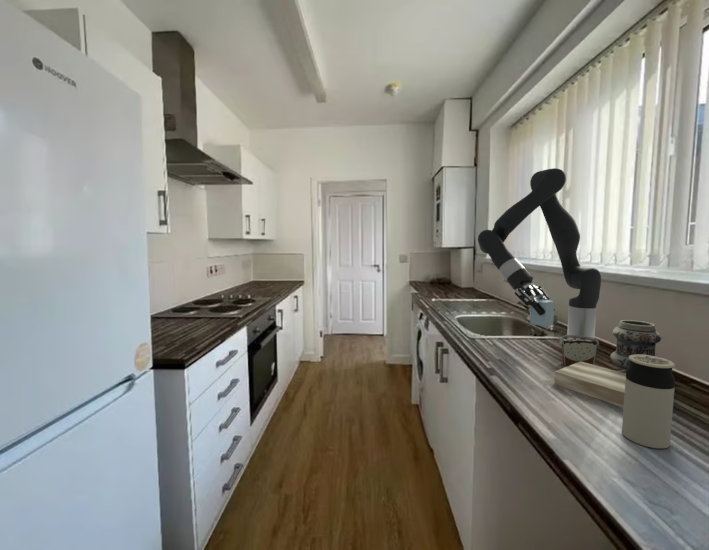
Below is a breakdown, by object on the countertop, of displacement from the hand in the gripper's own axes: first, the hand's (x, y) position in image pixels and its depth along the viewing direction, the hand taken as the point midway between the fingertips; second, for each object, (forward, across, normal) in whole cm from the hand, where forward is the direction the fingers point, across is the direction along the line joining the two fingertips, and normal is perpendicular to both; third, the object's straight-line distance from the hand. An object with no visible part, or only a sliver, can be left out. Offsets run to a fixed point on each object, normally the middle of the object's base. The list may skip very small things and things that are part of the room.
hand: (547, 312), depth 111 cm
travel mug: (+38, -21, -9) cm, 44 cm away
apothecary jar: (+27, +18, +2) cm, 33 cm away
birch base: (+26, 0, +3) cm, 26 cm away
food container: (+16, +15, +13) cm, 25 cm away
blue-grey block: (+2, 0, +4) cm, 5 cm away
